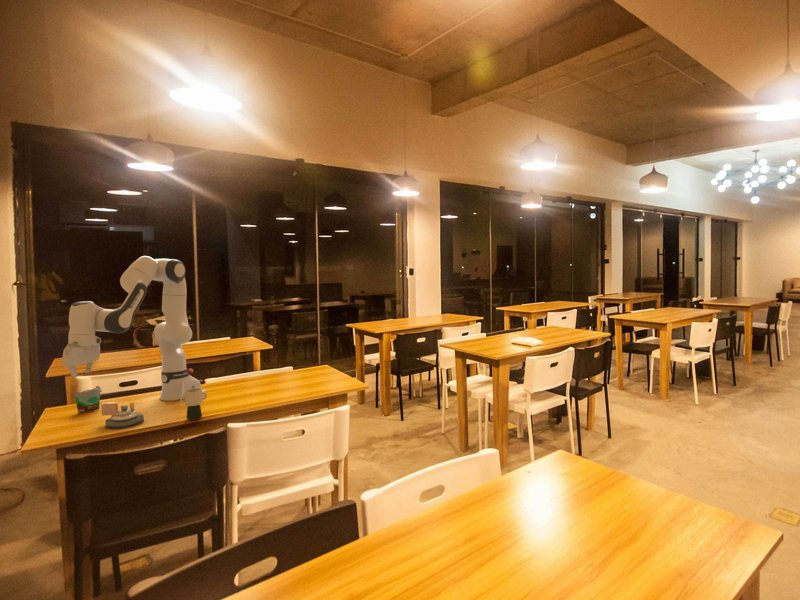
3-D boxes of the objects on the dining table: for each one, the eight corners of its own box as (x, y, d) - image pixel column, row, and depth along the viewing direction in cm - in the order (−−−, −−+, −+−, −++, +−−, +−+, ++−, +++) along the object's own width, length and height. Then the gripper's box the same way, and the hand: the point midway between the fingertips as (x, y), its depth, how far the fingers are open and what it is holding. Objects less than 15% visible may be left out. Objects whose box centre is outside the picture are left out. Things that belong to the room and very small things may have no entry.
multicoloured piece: (142, 413, 194) (141, 398, 194) (130, 421, 185) (129, 405, 184) (109, 414, 193) (108, 399, 193) (96, 422, 184) (95, 406, 183)
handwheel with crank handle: (130, 416, 199) (129, 399, 198) (151, 420, 193) (150, 403, 192) (98, 425, 186) (97, 408, 185) (119, 430, 180) (118, 412, 179)
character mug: (205, 414, 200) (204, 386, 199) (209, 418, 194) (208, 389, 194) (178, 419, 193) (177, 390, 192) (182, 423, 188) (181, 393, 187)
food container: (86, 414, 201) (84, 393, 200) (74, 414, 202) (73, 392, 201) (109, 406, 213) (107, 386, 212) (98, 406, 214) (97, 385, 213)
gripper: (75, 343, 170) (74, 379, 170) (103, 338, 190) (102, 370, 190) (57, 343, 169) (56, 379, 169) (87, 338, 189) (86, 370, 189)
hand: (81, 374), depth 180 cm, fingers open, 8 cm apart
